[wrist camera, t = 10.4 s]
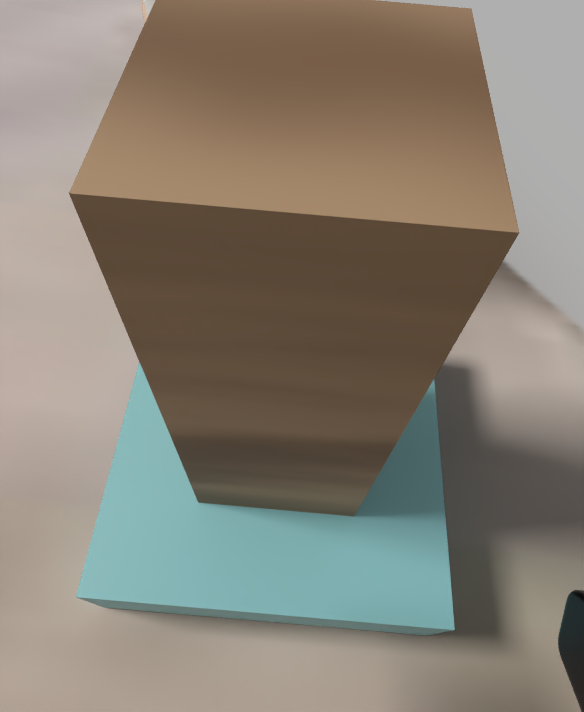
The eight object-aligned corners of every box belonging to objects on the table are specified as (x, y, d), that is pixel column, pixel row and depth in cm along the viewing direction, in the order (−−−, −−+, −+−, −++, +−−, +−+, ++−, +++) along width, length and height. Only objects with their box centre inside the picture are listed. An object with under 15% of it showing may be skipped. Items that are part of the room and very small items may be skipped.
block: (353, 516, 16) (519, 232, 6) (198, 502, 16) (69, 193, 6) (355, 379, 19) (471, 8, 8) (221, 367, 19) (163, -18, 8)
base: (427, 635, 17) (454, 630, 15) (104, 607, 17) (76, 597, 15) (411, 358, 23) (429, 320, 20) (168, 338, 23) (156, 297, 20)
